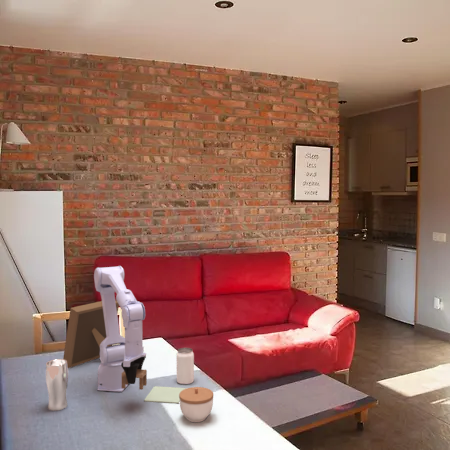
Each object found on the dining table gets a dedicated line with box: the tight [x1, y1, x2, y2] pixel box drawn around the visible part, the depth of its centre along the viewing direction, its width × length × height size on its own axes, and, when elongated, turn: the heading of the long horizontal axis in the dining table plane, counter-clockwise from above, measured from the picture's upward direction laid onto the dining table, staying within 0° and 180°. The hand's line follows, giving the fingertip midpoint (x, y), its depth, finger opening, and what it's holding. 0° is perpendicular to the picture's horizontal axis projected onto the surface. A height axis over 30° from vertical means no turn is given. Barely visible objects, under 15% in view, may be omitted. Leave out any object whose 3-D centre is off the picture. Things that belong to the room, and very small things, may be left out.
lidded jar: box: [179, 386, 214, 423], centre depth 148 cm, size 11×11×9 cm
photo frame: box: [62, 299, 120, 369], centre depth 197 cm, size 15×22×25 cm
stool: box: [122, 368, 148, 391], centre depth 155 cm, size 7×5×5 cm, turn 82°
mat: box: [143, 385, 187, 405], centre depth 165 cm, size 12×12×1 cm
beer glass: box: [45, 358, 69, 412], centre depth 155 cm, size 7×7×15 cm
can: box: [176, 347, 195, 385], centre depth 177 cm, size 6×6×12 cm
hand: (134, 380), depth 155 cm, fingers closed on stool, 4 cm apart
